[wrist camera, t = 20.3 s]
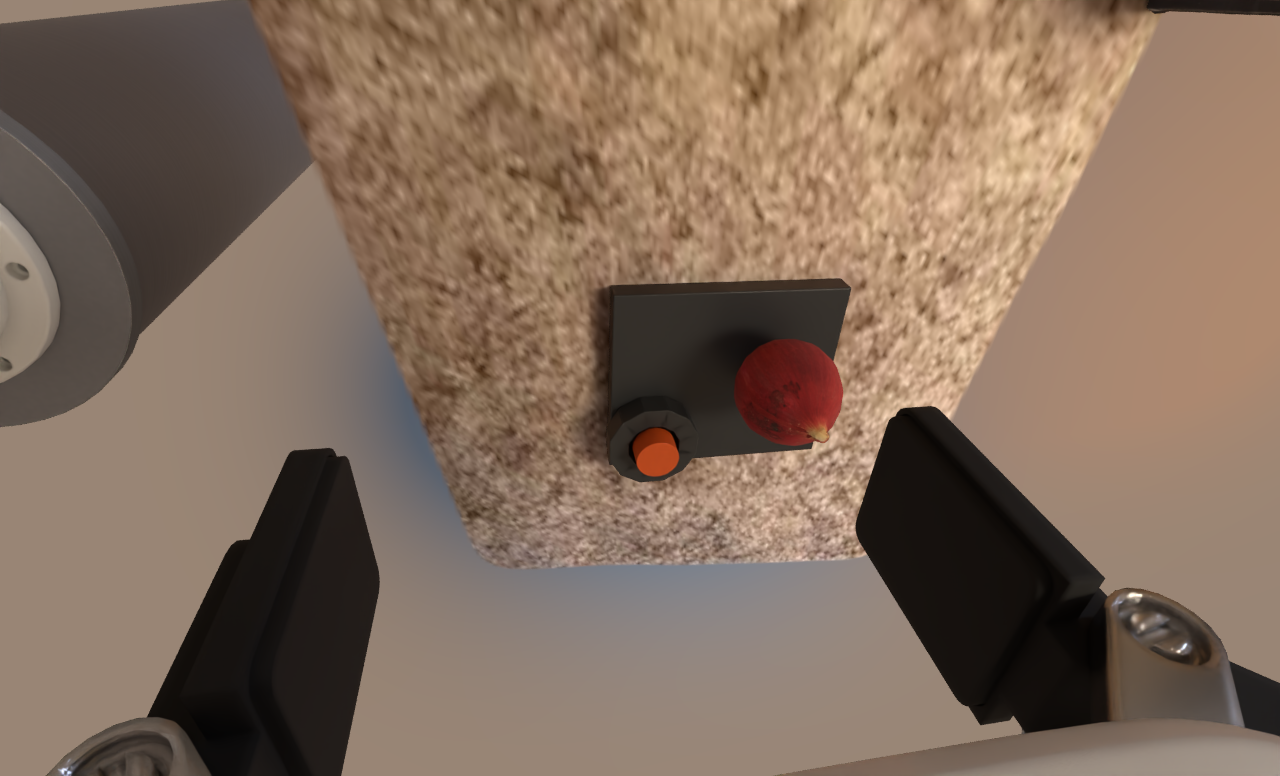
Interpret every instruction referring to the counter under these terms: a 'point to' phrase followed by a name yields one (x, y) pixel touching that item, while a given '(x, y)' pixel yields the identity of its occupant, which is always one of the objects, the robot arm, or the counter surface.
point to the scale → (703, 359)
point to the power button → (655, 452)
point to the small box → (1217, 6)
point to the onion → (789, 392)
